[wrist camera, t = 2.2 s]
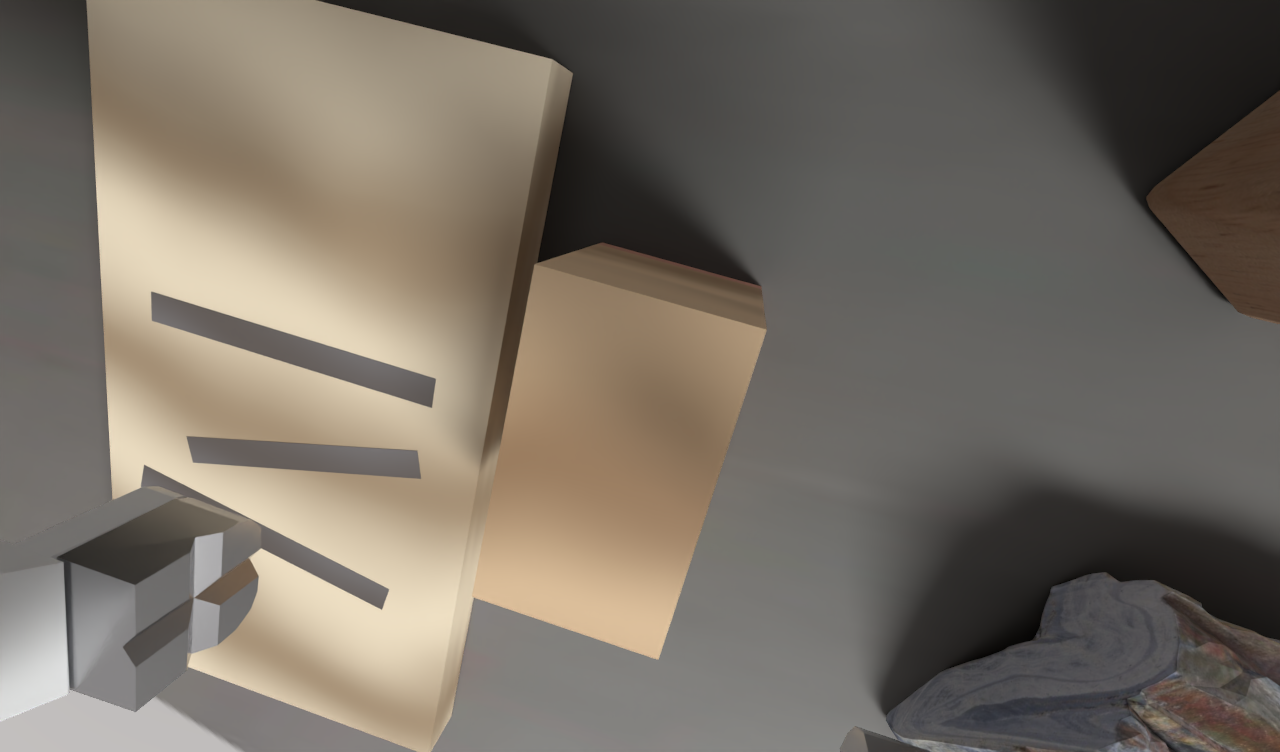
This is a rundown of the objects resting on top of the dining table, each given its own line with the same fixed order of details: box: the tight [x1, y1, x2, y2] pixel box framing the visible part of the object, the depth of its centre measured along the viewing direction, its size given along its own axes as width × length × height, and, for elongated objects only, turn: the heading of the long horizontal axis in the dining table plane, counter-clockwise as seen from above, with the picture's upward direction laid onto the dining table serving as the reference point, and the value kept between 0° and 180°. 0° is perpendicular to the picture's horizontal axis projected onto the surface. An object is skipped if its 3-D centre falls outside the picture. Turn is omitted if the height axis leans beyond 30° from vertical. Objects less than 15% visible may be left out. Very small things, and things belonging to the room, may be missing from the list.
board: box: [87, 0, 573, 752], centre depth 17 cm, size 20×11×2 cm, turn 166°
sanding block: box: [472, 242, 767, 660], centre depth 13 cm, size 7×4×5 cm, turn 166°
